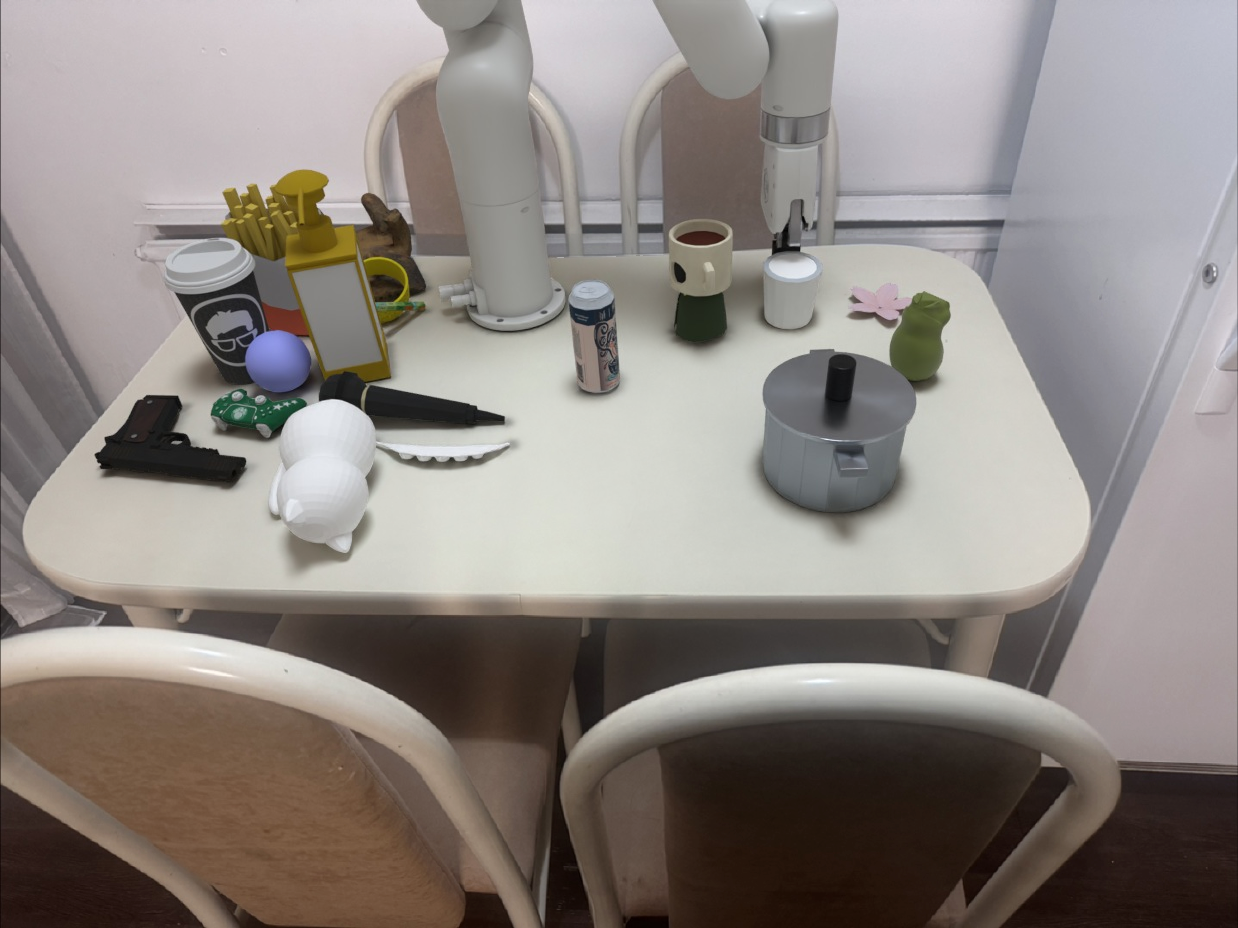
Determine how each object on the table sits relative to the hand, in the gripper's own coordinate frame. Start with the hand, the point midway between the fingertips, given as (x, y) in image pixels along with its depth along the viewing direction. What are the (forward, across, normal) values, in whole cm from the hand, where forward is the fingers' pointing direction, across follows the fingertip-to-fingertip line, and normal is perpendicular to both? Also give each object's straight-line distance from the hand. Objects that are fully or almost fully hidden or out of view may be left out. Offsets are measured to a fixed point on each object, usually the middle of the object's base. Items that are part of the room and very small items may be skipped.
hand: (784, 271), depth 108 cm
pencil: (-7, +13, -53) cm, 55 cm away
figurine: (+2, -20, -62) cm, 65 cm away
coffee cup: (+3, +11, -65) cm, 66 cm away
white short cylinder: (+3, +6, 0) cm, 6 cm away
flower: (+3, +5, +11) cm, 12 cm away
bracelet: (-3, +1, -51) cm, 51 cm away
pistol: (+2, +18, -66) cm, 69 cm away
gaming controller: (0, +18, -60) cm, 63 cm away
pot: (+3, +34, -1) cm, 34 cm away
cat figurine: (-2, +28, -50) cm, 57 cm away
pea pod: (+1, +28, -40) cm, 49 cm away
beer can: (+3, +17, -23) cm, 29 cm away
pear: (+3, +19, +11) cm, 22 cm away
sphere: (+1, +12, -58) cm, 59 cm away
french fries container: (+2, +2, -61) cm, 61 cm away
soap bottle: (+3, +14, -51) cm, 53 cm away
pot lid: (-6, +34, -1) cm, 34 cm away
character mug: (+3, +8, -11) cm, 14 cm away
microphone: (+2, +24, -33) cm, 41 cm away
